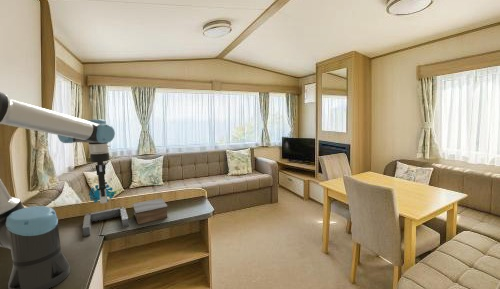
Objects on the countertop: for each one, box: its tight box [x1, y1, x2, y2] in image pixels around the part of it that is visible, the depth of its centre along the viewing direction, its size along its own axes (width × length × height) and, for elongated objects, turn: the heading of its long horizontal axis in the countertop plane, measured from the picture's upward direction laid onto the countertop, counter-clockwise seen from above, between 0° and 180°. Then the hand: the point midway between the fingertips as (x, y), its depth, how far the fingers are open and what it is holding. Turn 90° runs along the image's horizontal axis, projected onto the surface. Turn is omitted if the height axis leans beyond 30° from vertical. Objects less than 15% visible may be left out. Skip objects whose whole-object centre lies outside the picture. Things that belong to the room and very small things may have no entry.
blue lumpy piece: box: [88, 184, 117, 204], centre depth 115 cm, size 11×6×10 cm
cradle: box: [82, 206, 130, 238], centre depth 119 cm, size 18×18×4 cm
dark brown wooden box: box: [132, 197, 169, 225], centre depth 127 cm, size 15×15×6 cm
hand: (103, 200), depth 115 cm, fingers closed on blue lumpy piece, 8 cm apart
